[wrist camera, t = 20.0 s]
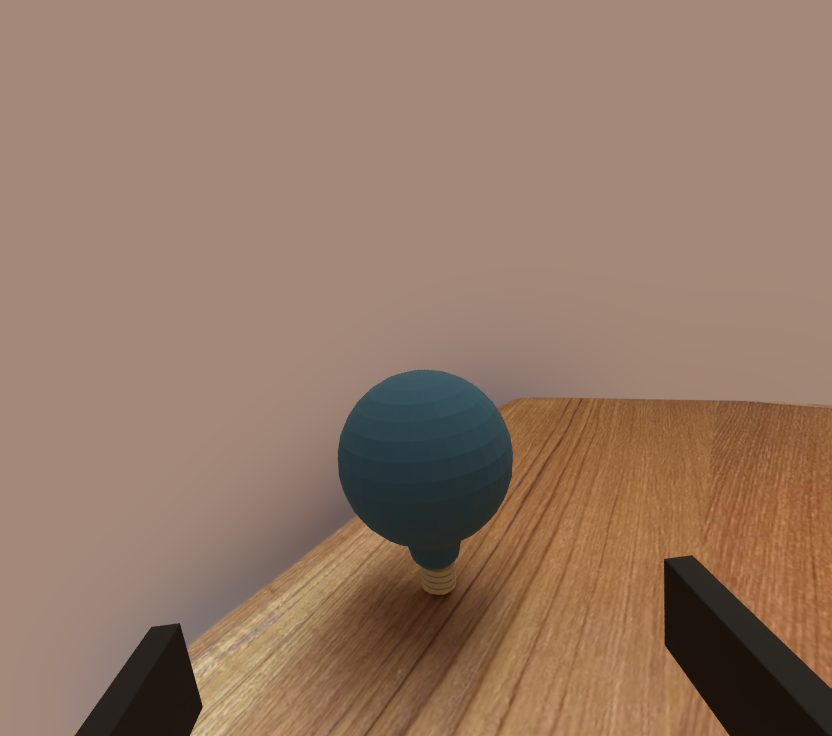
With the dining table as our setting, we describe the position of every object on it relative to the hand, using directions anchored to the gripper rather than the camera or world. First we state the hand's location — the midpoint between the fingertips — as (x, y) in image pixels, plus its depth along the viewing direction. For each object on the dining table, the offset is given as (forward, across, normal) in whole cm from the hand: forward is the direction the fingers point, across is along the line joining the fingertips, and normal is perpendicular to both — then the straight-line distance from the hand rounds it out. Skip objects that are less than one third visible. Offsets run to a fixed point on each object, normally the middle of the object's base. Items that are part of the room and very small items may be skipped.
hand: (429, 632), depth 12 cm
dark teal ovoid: (+10, 0, -7) cm, 13 cm away
